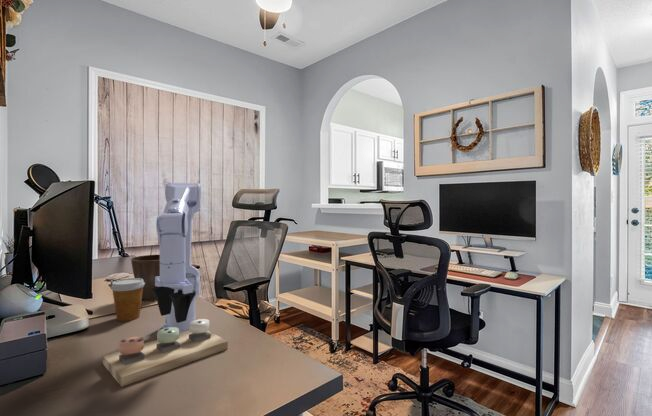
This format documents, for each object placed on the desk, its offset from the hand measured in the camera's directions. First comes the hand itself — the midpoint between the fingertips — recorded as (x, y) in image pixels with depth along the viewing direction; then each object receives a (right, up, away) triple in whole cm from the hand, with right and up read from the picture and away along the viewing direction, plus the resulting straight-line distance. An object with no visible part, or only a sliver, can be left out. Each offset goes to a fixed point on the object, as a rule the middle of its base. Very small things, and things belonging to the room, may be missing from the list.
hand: (173, 317), depth 81 cm
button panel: (-1, -9, 0) cm, 9 cm away
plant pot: (-31, -9, +49) cm, 59 cm away
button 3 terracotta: (-7, -5, -6) cm, 10 cm away
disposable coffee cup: (-27, -9, +27) cm, 39 cm away
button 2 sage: (-1, -5, 0) cm, 5 cm away
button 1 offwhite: (+4, -5, +6) cm, 9 cm away
